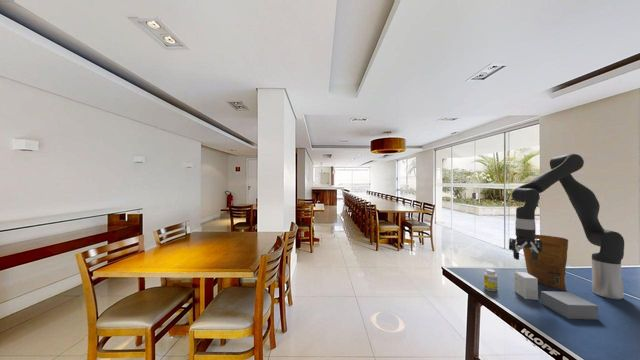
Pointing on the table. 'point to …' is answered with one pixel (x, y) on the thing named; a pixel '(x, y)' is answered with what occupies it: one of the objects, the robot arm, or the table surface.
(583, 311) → the base block
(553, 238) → the pancake mix bag
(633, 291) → the table surface
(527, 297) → the small box
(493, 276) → the supplement bottle
